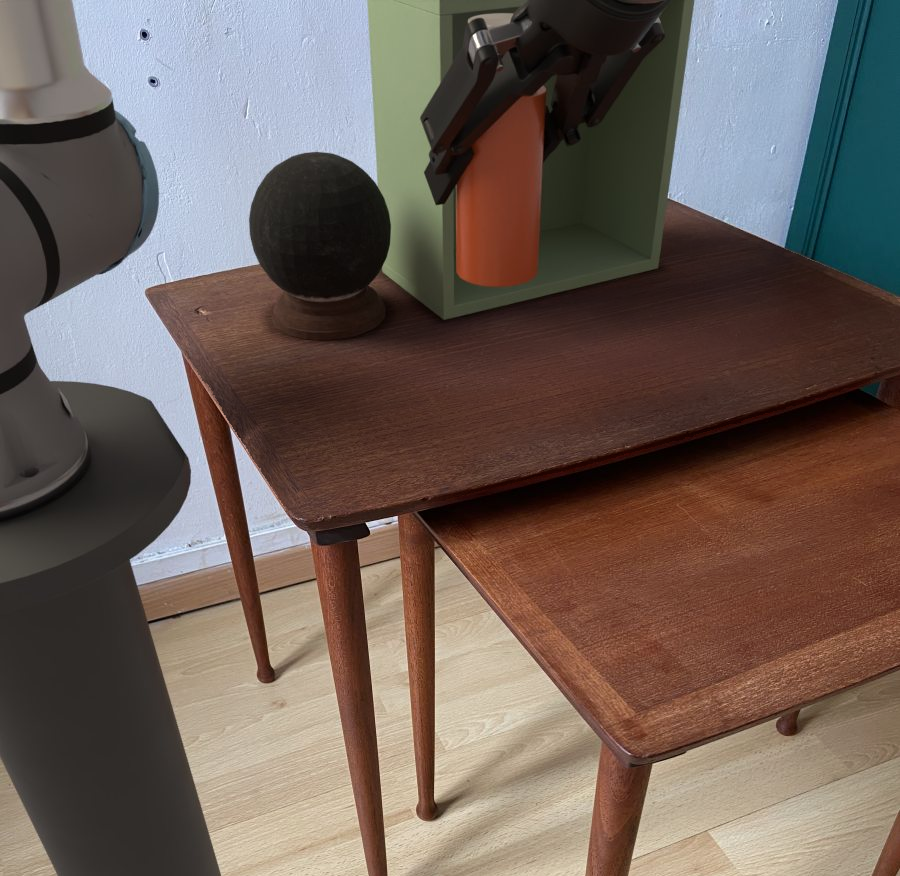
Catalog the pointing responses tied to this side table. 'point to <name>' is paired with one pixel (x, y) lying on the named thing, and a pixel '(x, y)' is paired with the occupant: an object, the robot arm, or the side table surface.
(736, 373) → the side table surface
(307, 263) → the black ball on stand
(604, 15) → the robot arm
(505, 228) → the spray can
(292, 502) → the side table surface
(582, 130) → the cupboard
